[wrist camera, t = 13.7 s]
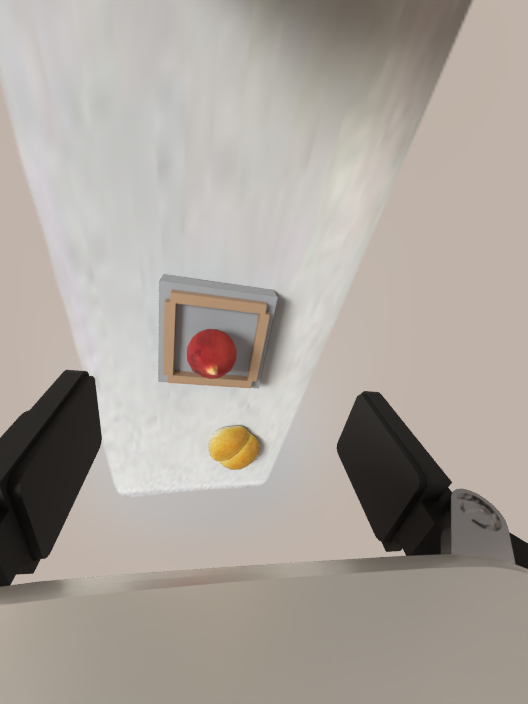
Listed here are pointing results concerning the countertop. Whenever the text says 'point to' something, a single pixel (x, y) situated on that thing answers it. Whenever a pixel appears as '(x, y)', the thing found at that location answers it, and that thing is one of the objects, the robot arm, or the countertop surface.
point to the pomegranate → (211, 353)
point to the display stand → (213, 327)
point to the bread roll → (234, 447)
